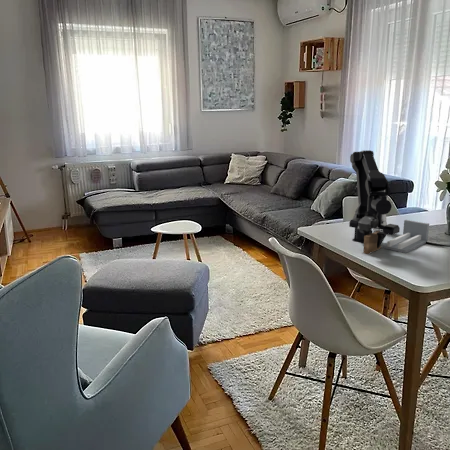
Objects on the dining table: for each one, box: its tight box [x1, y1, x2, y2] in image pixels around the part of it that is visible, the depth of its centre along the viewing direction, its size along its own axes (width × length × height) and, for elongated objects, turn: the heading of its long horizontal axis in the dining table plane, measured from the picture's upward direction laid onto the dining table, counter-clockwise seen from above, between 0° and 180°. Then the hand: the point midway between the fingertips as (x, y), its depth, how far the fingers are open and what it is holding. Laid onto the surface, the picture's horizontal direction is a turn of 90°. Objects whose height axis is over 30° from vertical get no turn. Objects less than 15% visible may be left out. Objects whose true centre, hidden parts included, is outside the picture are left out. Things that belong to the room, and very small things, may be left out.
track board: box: [381, 219, 430, 254], centre depth 182 cm, size 10×20×8 cm, turn 133°
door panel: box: [363, 231, 382, 255], centre depth 175 cm, size 2×10×7 cm, turn 133°
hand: (372, 246), depth 176 cm, fingers open, 5 cm apart
